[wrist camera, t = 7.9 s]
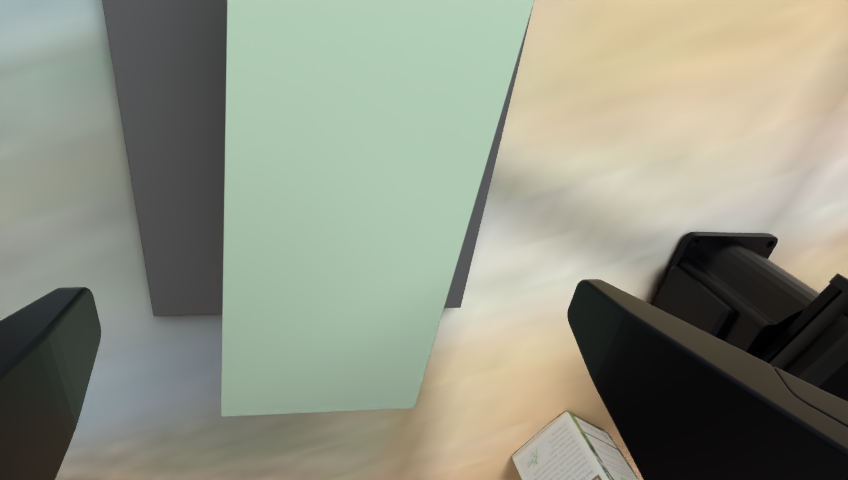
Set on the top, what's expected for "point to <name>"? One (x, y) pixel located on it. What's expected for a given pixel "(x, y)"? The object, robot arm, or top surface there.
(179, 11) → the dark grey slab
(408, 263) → the board
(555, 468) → the syrup box
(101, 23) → the top surface
